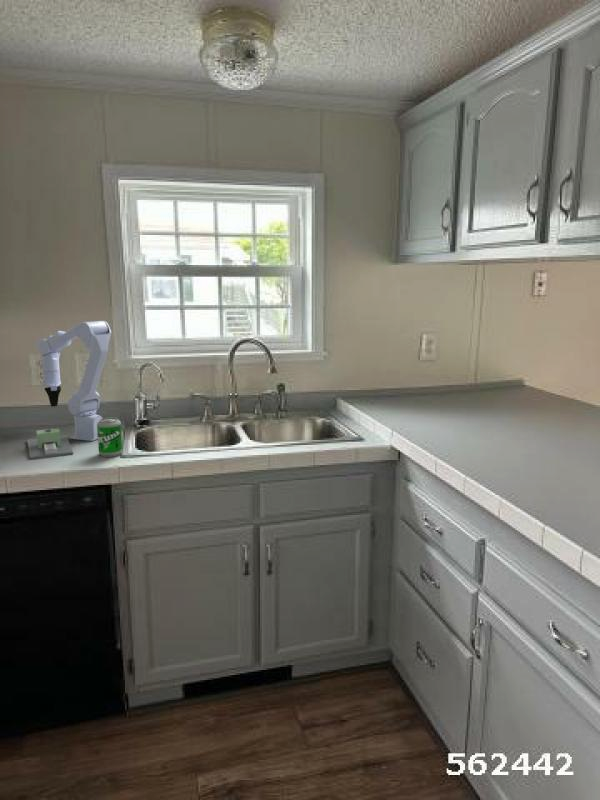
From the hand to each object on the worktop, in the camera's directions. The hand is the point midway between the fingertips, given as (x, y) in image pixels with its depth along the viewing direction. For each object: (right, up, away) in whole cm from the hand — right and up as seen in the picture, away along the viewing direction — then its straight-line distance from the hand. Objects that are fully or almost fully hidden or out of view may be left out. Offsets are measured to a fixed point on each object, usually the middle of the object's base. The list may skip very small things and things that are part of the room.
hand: (54, 406), depth 208 cm
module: (+7, -14, -19) cm, 24 cm away
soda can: (+30, -16, -24) cm, 42 cm away
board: (+7, -14, -19) cm, 25 cm away
